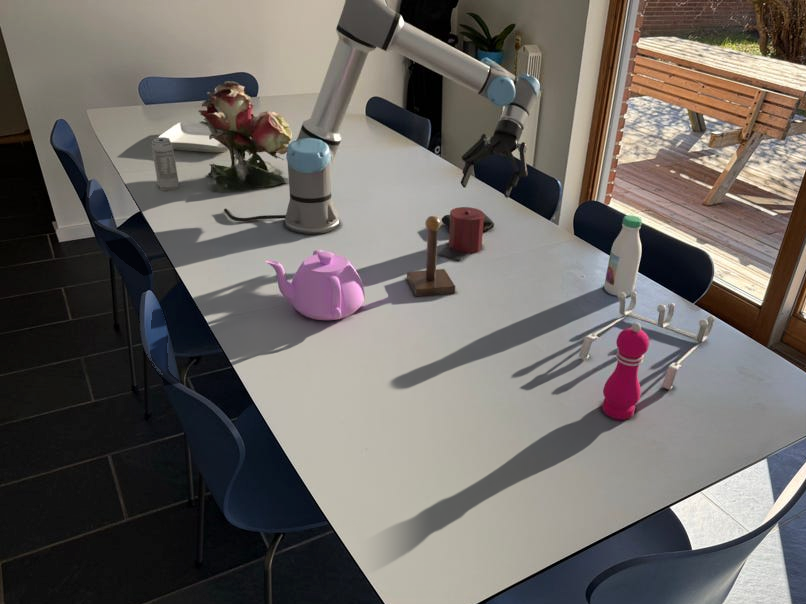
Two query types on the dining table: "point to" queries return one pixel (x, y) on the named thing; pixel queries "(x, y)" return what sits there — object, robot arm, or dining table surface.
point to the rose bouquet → (244, 139)
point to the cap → (464, 233)
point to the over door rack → (702, 335)
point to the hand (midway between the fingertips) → (483, 190)
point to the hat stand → (431, 268)
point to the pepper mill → (625, 374)
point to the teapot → (322, 286)
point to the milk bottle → (624, 258)
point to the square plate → (193, 138)
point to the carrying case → (487, 222)
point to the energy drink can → (164, 163)
